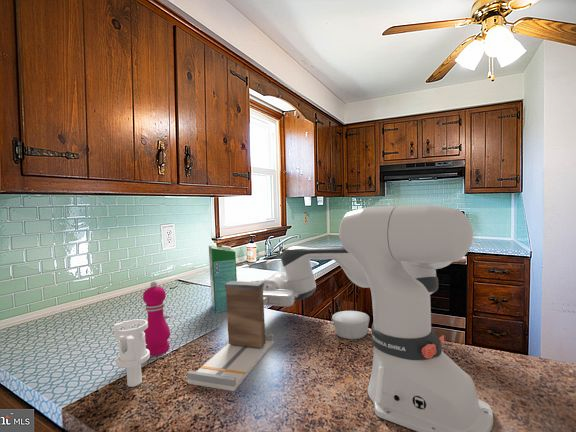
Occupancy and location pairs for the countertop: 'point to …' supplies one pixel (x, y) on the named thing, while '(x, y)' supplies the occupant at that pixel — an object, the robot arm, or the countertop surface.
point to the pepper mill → (156, 320)
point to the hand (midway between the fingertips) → (254, 304)
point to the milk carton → (221, 274)
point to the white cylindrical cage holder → (132, 349)
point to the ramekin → (350, 324)
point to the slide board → (229, 366)
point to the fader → (245, 313)
